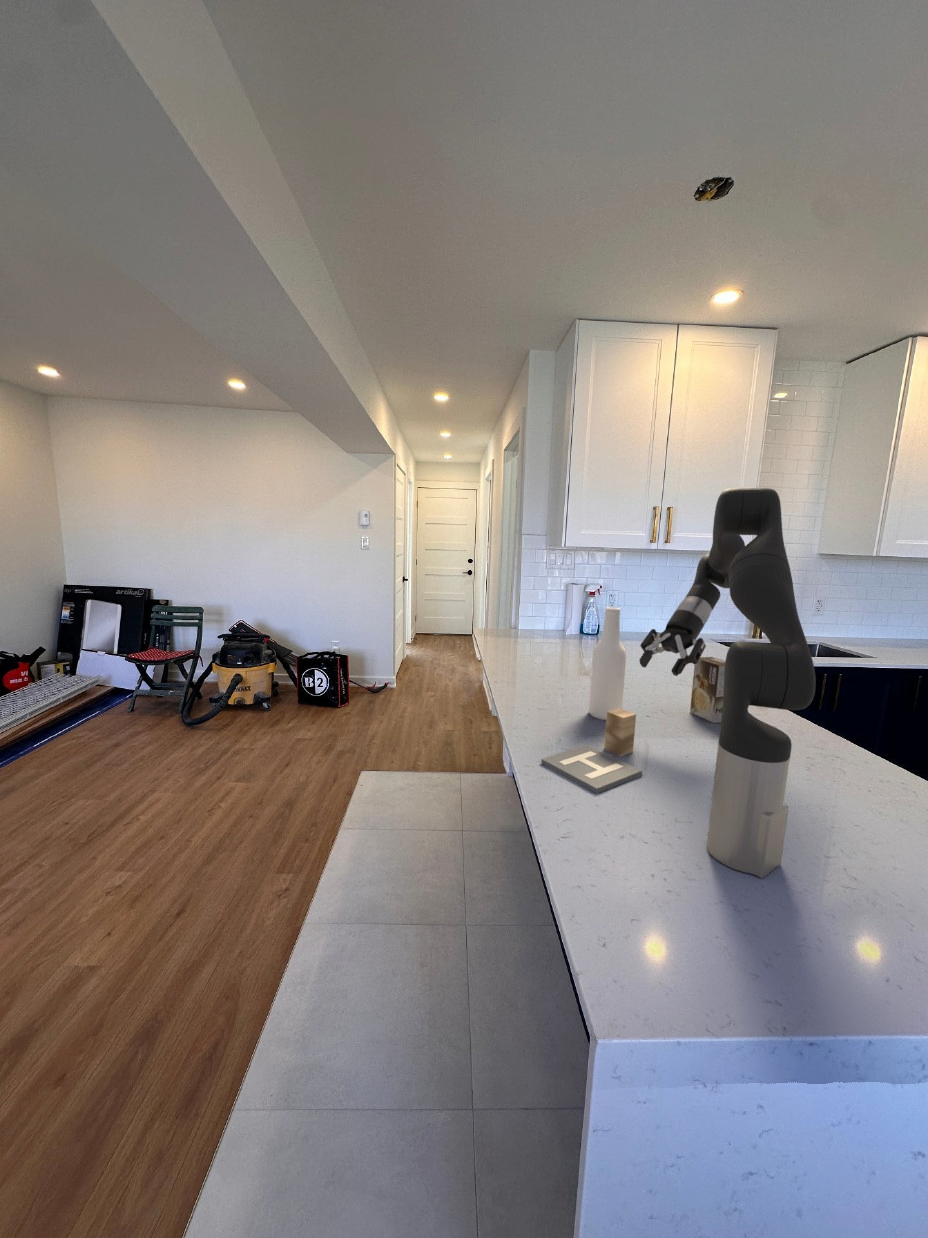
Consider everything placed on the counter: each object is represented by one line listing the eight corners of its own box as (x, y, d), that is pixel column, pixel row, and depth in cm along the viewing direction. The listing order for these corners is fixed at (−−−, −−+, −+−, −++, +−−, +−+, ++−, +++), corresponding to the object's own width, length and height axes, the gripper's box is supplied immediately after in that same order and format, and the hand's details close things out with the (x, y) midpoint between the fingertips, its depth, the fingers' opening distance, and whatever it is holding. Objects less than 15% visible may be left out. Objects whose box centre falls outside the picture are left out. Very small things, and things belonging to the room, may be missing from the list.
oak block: (632, 751, 113) (636, 714, 111) (620, 756, 110) (623, 717, 109) (616, 745, 116) (619, 708, 115) (604, 749, 114) (607, 711, 112)
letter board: (641, 775, 101) (642, 770, 101) (596, 793, 93) (597, 788, 93) (585, 749, 113) (586, 744, 113) (541, 763, 105) (541, 758, 105)
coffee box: (732, 721, 134) (738, 664, 131) (713, 723, 132) (719, 665, 129) (706, 710, 143) (712, 656, 140) (688, 712, 141) (694, 657, 138)
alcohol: (625, 714, 137) (634, 607, 132) (615, 723, 130) (624, 611, 125) (594, 707, 142) (602, 604, 137) (583, 716, 135) (591, 607, 130)
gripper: (658, 605, 126) (626, 653, 121) (712, 612, 114) (680, 667, 110) (668, 623, 130) (637, 671, 125) (722, 633, 118) (690, 686, 114)
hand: (657, 669), depth 117 cm, fingers open, 8 cm apart
